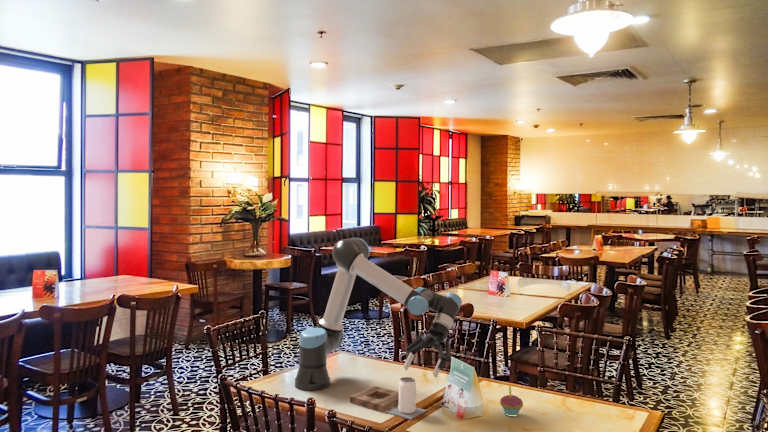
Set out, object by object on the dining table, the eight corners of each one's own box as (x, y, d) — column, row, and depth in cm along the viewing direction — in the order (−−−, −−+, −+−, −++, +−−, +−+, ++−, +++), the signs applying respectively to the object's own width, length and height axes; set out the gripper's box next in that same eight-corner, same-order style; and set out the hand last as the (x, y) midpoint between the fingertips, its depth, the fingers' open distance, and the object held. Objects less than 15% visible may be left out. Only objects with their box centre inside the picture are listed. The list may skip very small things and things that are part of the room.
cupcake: (518, 420, 211) (518, 388, 210) (496, 415, 215) (496, 384, 215) (525, 413, 218) (526, 382, 217) (504, 408, 222) (505, 378, 222)
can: (414, 414, 213) (414, 382, 213) (396, 413, 214) (397, 381, 214) (416, 408, 219) (417, 377, 219) (400, 407, 221) (400, 376, 220)
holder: (349, 402, 226) (350, 396, 226) (374, 391, 239) (374, 385, 239) (382, 412, 216) (382, 405, 216) (406, 400, 229) (406, 394, 229)
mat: (386, 412, 216) (386, 411, 216) (403, 404, 225) (403, 403, 225) (410, 419, 209) (410, 418, 209) (426, 411, 218) (426, 410, 218)
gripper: (470, 337, 229) (450, 383, 217) (418, 327, 244) (397, 370, 232) (464, 326, 224) (443, 373, 213) (412, 317, 239) (389, 360, 228)
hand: (419, 371), depth 223 cm, fingers open, 13 cm apart
